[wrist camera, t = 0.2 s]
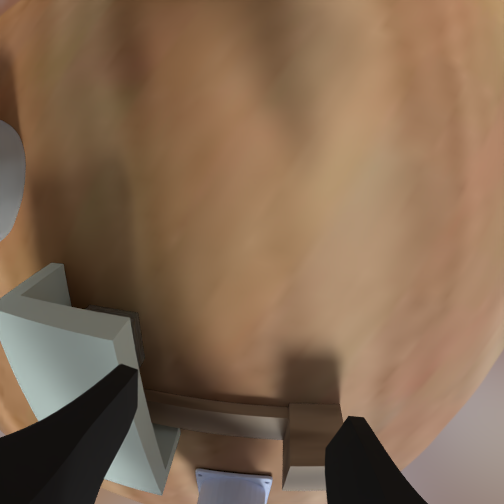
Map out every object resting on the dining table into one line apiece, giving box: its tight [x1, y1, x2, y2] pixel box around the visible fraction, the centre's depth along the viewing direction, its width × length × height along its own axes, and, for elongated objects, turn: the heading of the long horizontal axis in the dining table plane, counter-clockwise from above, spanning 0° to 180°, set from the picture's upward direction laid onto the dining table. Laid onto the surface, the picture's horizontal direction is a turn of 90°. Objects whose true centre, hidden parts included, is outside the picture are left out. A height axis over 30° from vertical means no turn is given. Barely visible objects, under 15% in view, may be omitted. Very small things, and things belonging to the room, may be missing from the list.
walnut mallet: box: [143, 389, 343, 491], centre depth 20 cm, size 4×20×6 cm, turn 87°
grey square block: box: [85, 305, 145, 368], centre depth 20 cm, size 4×4×2 cm
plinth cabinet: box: [0, 263, 181, 495], centre depth 19 cm, size 16×9×7 cm, turn 177°
